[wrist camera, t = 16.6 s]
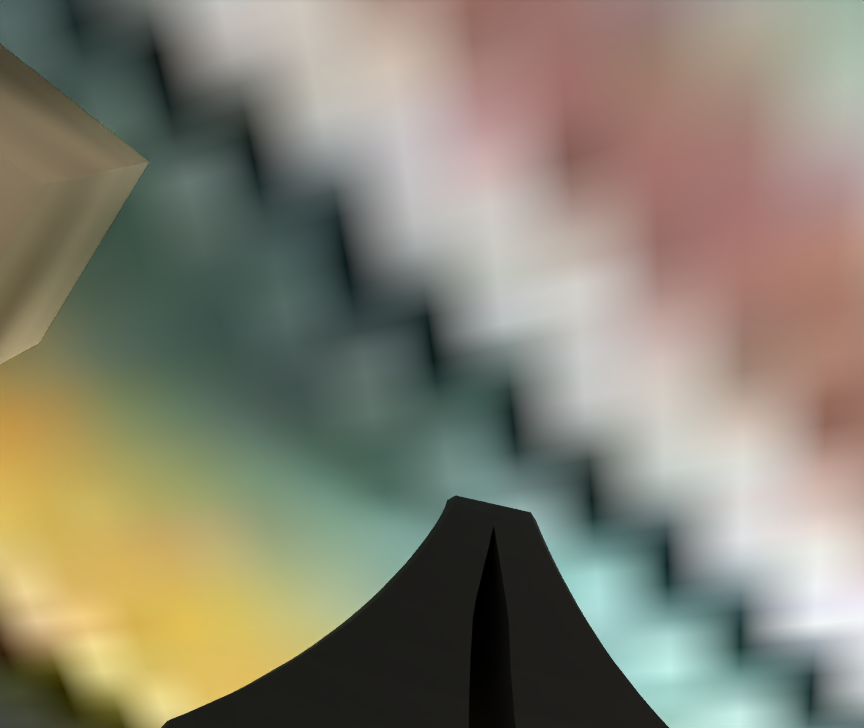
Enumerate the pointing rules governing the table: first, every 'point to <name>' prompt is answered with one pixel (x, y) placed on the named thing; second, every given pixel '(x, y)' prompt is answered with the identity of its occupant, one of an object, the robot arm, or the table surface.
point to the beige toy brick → (51, 198)
